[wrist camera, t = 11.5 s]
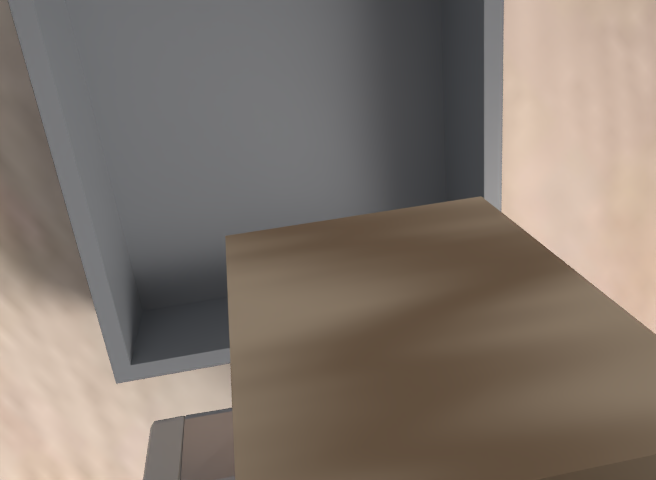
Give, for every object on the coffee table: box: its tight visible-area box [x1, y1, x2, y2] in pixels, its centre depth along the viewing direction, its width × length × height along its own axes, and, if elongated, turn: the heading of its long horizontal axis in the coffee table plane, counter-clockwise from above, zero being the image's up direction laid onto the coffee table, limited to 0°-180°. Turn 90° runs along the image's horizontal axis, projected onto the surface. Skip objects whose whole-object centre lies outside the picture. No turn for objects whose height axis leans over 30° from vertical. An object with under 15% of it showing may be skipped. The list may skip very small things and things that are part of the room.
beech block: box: [225, 196, 656, 480], centre depth 10 cm, size 5×5×7 cm
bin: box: [8, 0, 504, 384], centre depth 28 cm, size 18×18×6 cm
